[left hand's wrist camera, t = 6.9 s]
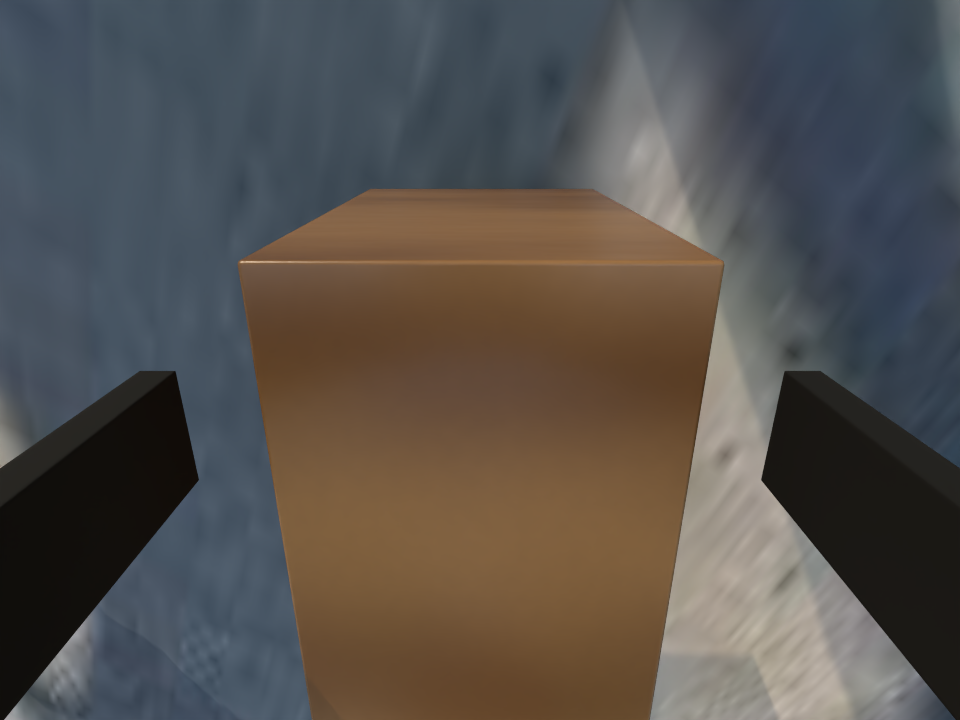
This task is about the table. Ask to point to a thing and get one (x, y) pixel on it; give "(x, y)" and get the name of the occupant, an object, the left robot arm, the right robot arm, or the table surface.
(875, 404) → the table surface
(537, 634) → the box
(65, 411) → the table surface
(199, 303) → the table surface
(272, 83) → the table surface
